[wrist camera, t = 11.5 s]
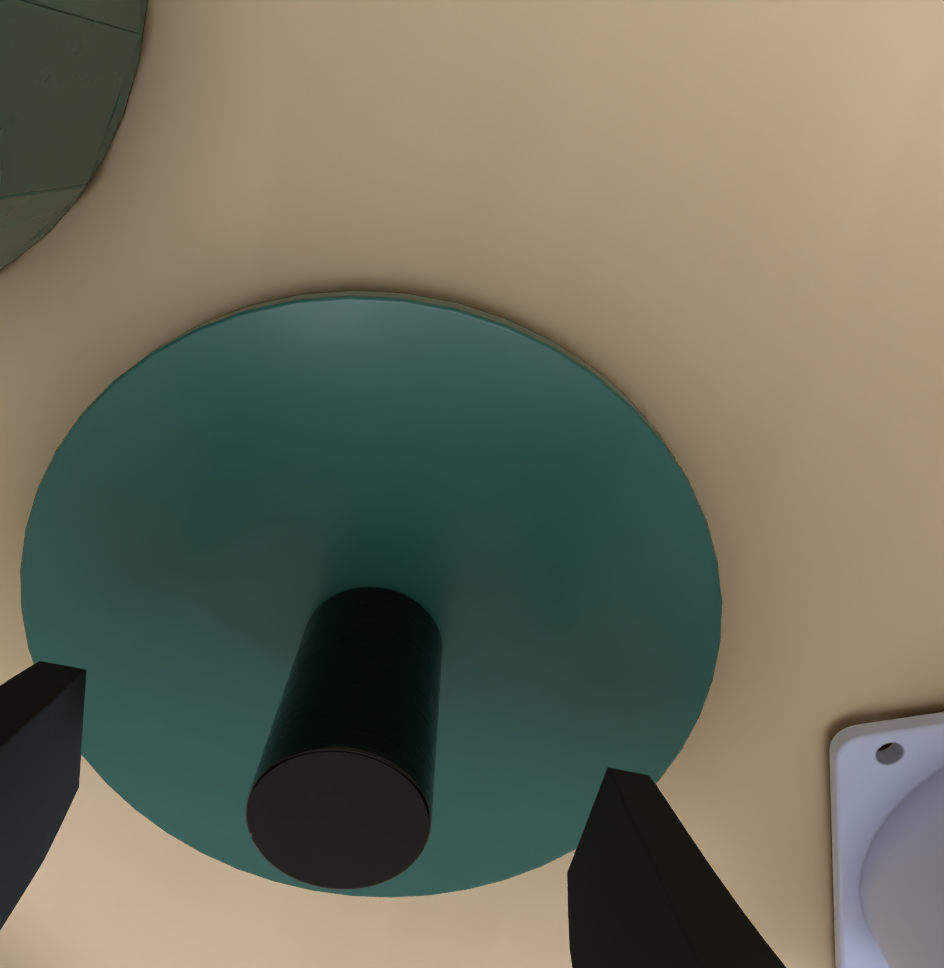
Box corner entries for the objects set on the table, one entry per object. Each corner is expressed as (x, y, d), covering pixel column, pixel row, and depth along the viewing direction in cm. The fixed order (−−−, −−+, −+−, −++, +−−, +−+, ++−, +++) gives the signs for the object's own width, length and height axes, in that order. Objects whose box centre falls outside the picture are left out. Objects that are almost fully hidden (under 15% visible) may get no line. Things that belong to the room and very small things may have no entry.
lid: (843, 499, 15) (1020, 676, 10) (498, 927, 19) (506, 1197, 14) (198, 133, 12) (27, 134, 8) (-33, 712, 16) (-236, 947, 12)
